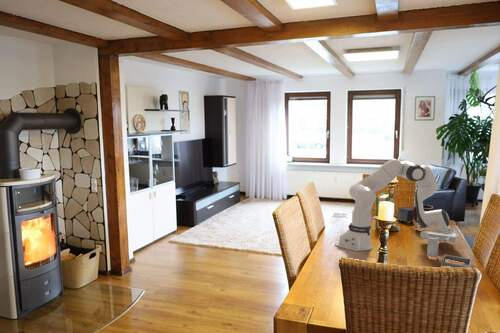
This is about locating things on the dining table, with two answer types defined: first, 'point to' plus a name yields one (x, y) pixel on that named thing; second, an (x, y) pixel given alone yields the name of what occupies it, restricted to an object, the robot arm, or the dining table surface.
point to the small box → (405, 214)
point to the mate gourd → (426, 208)
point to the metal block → (432, 246)
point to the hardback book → (381, 198)
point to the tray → (467, 261)
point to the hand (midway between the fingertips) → (436, 239)
